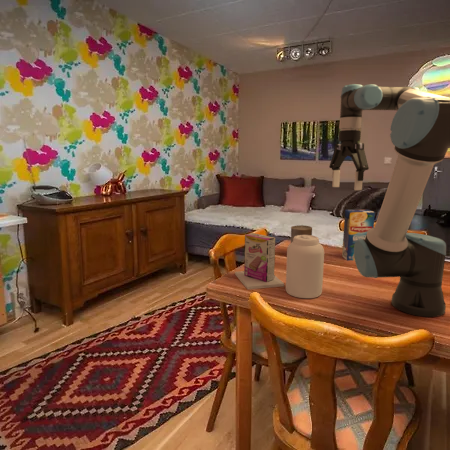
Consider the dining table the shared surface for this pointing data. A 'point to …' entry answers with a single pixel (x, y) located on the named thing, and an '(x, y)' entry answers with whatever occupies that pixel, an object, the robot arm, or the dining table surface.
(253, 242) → the candy bar box
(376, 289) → the dining table surface
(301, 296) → the cream jar
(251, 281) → the grey mat
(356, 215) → the beverage box
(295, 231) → the pillar candle
